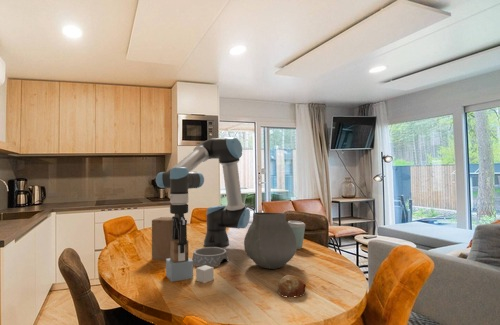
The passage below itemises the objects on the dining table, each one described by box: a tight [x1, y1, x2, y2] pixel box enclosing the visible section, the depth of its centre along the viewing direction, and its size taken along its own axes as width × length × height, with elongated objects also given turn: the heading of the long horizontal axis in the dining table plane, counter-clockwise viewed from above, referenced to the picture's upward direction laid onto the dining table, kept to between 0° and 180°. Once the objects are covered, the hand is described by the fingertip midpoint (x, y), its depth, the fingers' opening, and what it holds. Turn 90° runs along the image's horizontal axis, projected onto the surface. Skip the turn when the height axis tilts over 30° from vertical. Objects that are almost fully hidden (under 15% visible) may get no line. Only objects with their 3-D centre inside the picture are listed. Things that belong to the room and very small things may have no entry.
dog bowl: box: [191, 246, 229, 267], centre depth 153 cm, size 17×18×5 cm
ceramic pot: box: [243, 211, 298, 270], centre depth 145 cm, size 24×24×25 cm
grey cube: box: [195, 265, 215, 284], centre depth 127 cm, size 5×5×5 cm
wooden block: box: [151, 216, 173, 261], centre depth 161 cm, size 10×10×20 cm
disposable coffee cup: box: [287, 220, 306, 250], centre depth 178 cm, size 11×11×15 cm
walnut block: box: [170, 239, 189, 262], centre depth 131 cm, size 6×6×8 cm
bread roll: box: [277, 274, 307, 298], centre depth 113 cm, size 10×10×8 cm
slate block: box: [165, 256, 194, 283], centre depth 131 cm, size 9×9×7 cm
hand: (179, 258), depth 131 cm, fingers closed on walnut block, 6 cm apart
